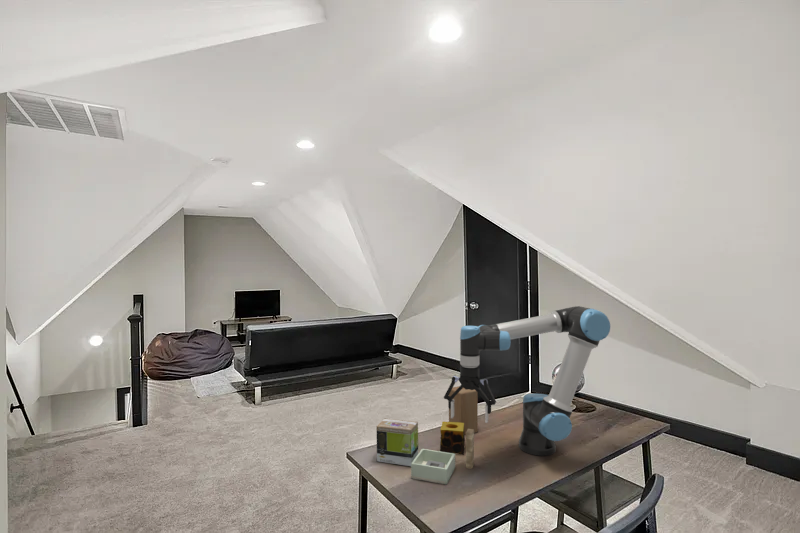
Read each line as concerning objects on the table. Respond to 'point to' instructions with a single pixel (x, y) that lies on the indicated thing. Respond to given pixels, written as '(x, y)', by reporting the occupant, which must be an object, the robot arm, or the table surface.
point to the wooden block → (465, 408)
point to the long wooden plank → (470, 448)
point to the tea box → (397, 441)
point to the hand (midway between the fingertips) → (469, 419)
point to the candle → (452, 437)
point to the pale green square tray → (433, 466)
